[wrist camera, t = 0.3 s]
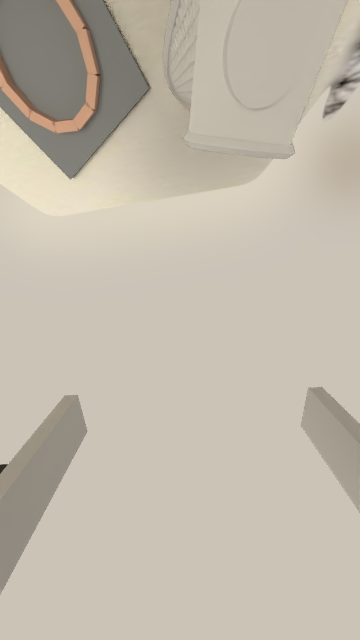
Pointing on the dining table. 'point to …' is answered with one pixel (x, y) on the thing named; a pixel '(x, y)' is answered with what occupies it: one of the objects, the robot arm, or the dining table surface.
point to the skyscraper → (246, 69)
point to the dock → (65, 75)
